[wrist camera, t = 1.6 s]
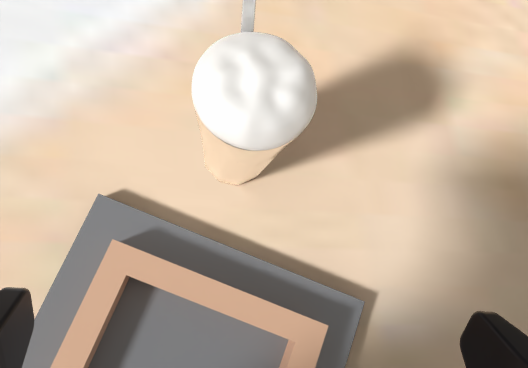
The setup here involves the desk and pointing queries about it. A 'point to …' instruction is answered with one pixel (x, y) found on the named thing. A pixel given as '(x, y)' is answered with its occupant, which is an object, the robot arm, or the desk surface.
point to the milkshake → (250, 100)
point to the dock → (182, 303)
